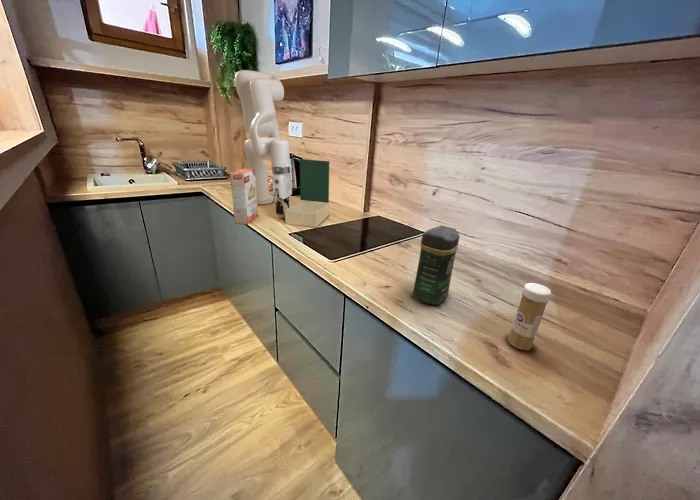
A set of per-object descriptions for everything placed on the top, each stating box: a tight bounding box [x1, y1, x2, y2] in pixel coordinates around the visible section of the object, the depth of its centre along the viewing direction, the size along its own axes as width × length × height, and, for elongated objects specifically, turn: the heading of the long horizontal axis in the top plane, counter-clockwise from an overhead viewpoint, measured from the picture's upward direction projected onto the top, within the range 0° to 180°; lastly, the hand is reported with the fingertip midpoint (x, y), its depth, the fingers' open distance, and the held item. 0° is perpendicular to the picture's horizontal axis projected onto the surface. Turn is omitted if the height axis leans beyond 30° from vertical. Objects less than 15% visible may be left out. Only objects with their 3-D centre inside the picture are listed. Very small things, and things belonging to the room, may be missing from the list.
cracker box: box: [229, 168, 259, 226], centre depth 127 cm, size 14×6×21 cm, turn 179°
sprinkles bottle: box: [507, 282, 552, 351], centre depth 60 cm, size 5×5×14 cm
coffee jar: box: [412, 225, 460, 306], centre depth 76 cm, size 10×8×19 cm
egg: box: [277, 201, 288, 219], centre depth 134 cm, size 5×5×7 cm
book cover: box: [299, 158, 330, 204], centre depth 140 cm, size 18×14×6 cm
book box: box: [284, 200, 329, 228], centre depth 134 cm, size 18×14×6 cm
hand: (282, 211), depth 135 cm, fingers closed on egg, 5 cm apart
